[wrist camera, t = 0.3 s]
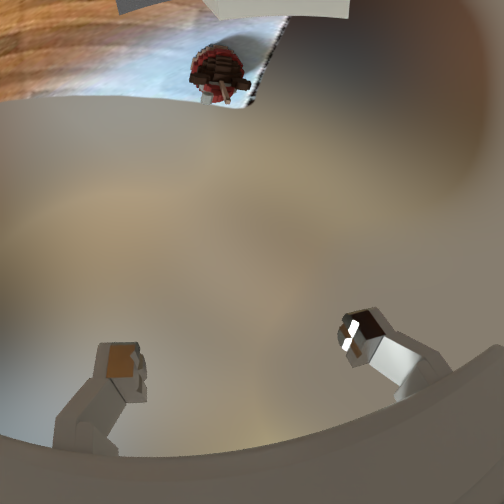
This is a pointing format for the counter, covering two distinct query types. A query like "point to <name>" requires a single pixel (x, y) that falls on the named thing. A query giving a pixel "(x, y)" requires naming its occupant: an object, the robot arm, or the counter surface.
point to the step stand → (277, 8)
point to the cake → (217, 74)
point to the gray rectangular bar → (134, 4)
